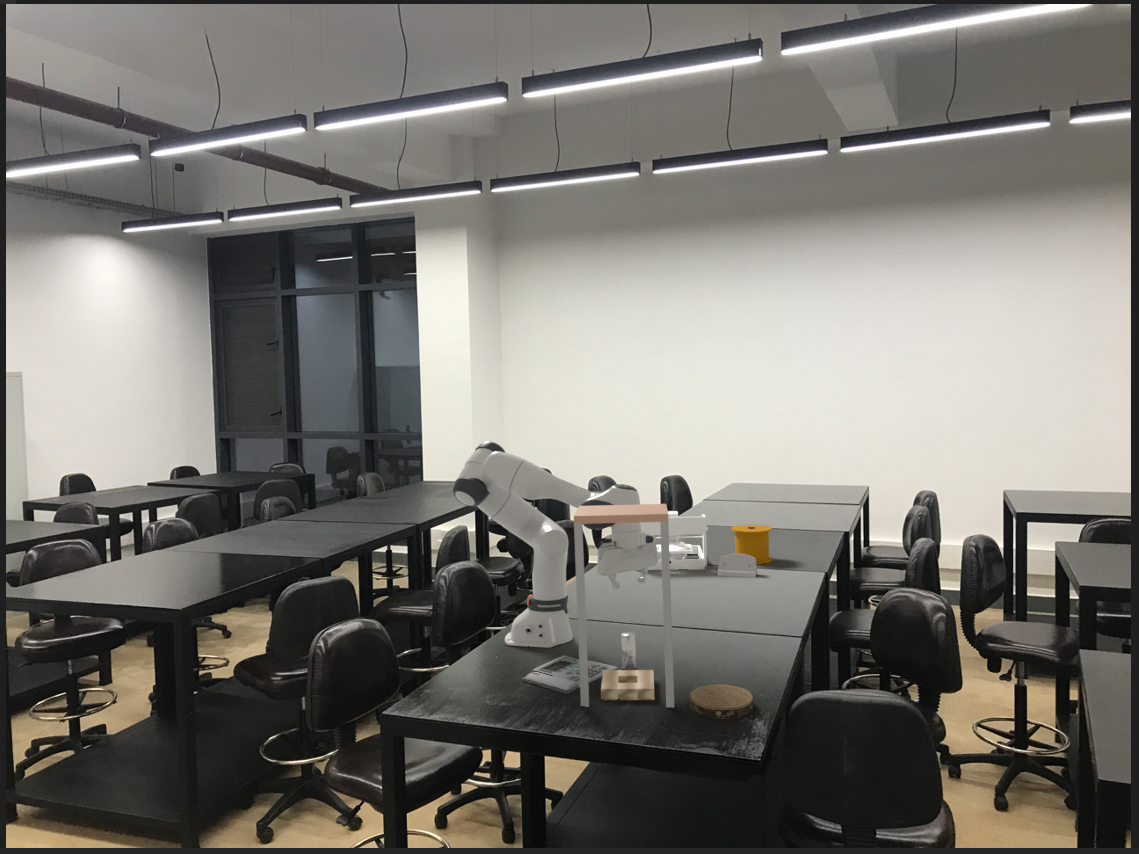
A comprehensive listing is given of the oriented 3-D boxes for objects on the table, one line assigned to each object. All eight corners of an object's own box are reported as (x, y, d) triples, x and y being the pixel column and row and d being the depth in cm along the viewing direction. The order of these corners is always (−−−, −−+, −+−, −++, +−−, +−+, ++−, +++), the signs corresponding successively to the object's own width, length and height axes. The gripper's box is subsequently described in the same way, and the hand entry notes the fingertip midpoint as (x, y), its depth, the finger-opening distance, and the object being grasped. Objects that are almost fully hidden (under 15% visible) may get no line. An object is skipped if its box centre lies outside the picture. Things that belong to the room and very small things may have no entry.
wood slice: (764, 704, 210) (764, 693, 209) (732, 725, 198) (732, 713, 198) (711, 690, 220) (711, 679, 220) (677, 709, 208) (677, 698, 208)
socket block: (601, 700, 216) (600, 688, 216) (603, 680, 230) (603, 670, 230) (654, 699, 215) (654, 688, 214) (653, 680, 228) (653, 669, 228)
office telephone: (567, 688, 220) (513, 673, 233) (567, 697, 220) (513, 682, 233) (617, 662, 238) (565, 649, 251) (618, 671, 238) (565, 658, 251)
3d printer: (706, 554, 390) (702, 501, 389) (711, 569, 359) (707, 512, 357) (633, 558, 394) (628, 507, 393) (632, 574, 362) (627, 518, 361)
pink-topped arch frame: (581, 707, 211) (573, 516, 209) (585, 683, 228) (578, 505, 225) (674, 707, 209) (668, 513, 206) (671, 683, 226) (666, 503, 223)
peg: (622, 670, 237) (621, 636, 237) (622, 665, 241) (621, 632, 241) (636, 670, 237) (634, 636, 236) (636, 665, 241) (635, 632, 240)
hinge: (716, 575, 347) (717, 552, 349) (718, 576, 351) (719, 553, 353) (756, 577, 341) (756, 553, 343) (757, 578, 345) (758, 554, 348)
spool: (724, 559, 378) (723, 526, 377) (755, 554, 385) (755, 522, 384) (748, 566, 361) (747, 532, 361) (780, 561, 369) (780, 528, 368)
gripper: (604, 546, 232) (606, 593, 233) (660, 536, 243) (662, 581, 244) (591, 542, 238) (593, 589, 238) (647, 533, 249) (649, 578, 249)
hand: (628, 585), depth 241 cm, fingers open, 8 cm apart
